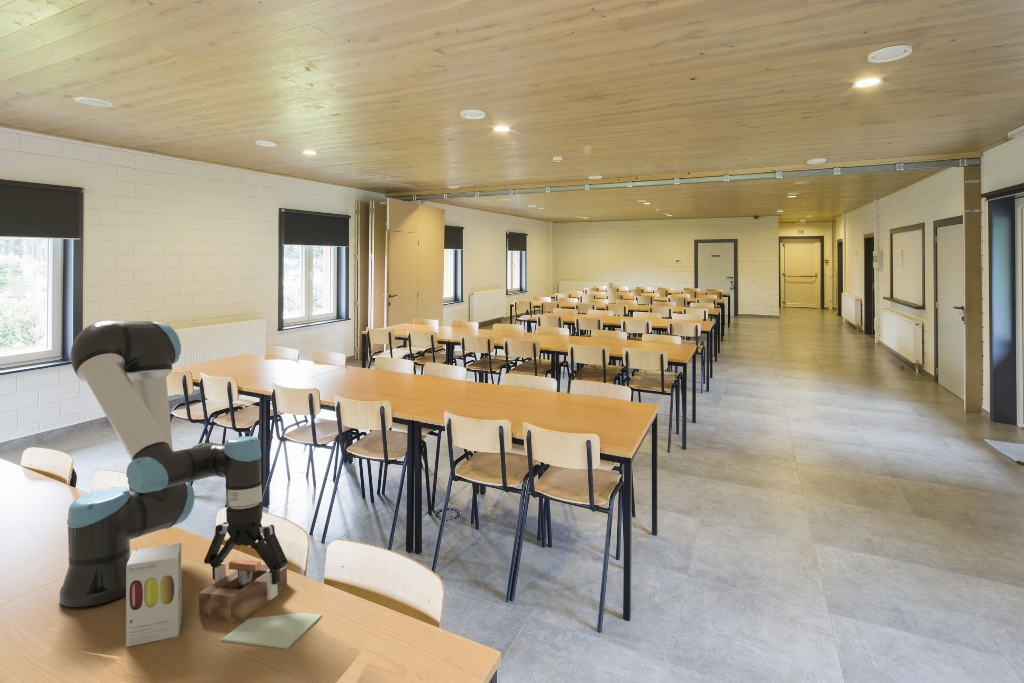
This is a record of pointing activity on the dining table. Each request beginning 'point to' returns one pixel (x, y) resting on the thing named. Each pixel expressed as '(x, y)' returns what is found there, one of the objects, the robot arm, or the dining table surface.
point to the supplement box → (153, 594)
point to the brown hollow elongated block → (237, 596)
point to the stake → (244, 570)
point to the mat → (273, 630)
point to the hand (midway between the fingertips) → (246, 595)
